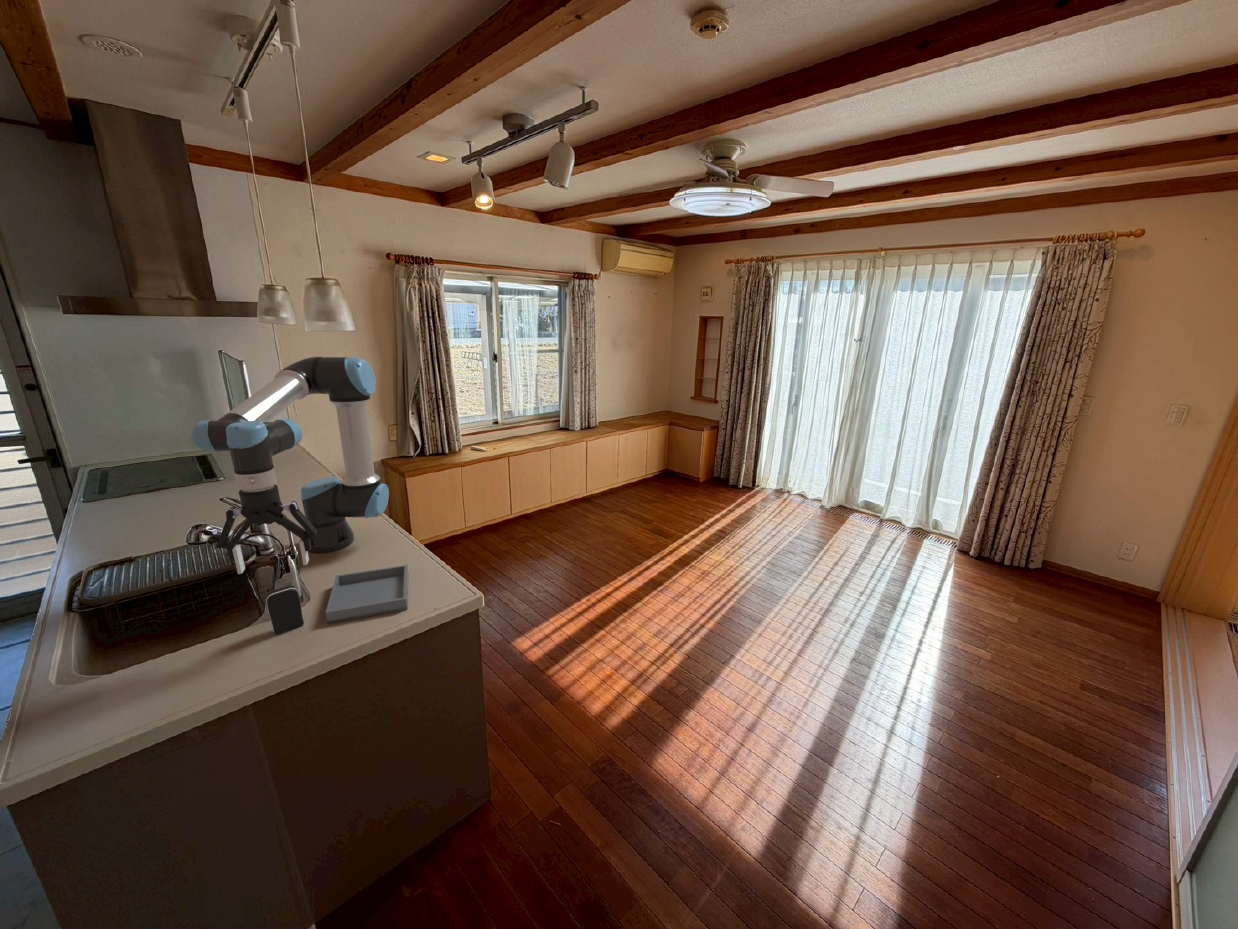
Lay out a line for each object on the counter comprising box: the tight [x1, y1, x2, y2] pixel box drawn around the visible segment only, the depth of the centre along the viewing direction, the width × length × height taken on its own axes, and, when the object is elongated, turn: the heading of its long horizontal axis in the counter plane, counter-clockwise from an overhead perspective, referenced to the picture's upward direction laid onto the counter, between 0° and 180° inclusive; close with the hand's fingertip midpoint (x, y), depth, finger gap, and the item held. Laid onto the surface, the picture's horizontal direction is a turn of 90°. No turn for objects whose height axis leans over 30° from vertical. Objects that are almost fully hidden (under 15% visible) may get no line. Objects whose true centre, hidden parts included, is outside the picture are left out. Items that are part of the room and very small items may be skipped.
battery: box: [264, 585, 305, 636], centre depth 125 cm, size 7×4×11 cm, turn 135°
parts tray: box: [325, 564, 409, 625], centre depth 140 cm, size 20×20×4 cm
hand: (274, 566), depth 121 cm, fingers open, 13 cm apart
